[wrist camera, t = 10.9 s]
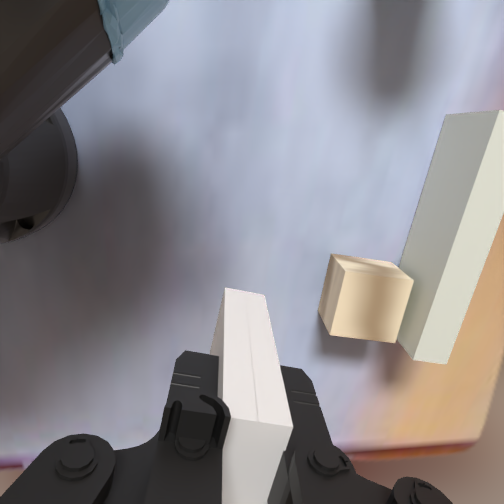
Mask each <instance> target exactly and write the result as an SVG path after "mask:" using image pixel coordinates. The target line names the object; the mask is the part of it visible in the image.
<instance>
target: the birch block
mask: <svg viewBox="0 0 504 504" xmlns="http://www.w3.org/2000/svg"><path fill="white" fill-rule="evenodd" d="M413 282H414V280H413V279H411V278H410V277H409V276H408V275H406V274H405V273H404V272H403V271H401V270H400V269H399V268H398V267H397V266H395V265H394V264H393V263H392V262H387V261H380V260H373V259H366V258H359V257H352V256H345V255H338V254H331V256H330V260H329V264H328V269H327V273H326V277H325V282H324V286H323V290H322V295H321V299H320V303H319V308H318V312H319V314H320V316H321V318H322V320H323V322H324V324H325V326H326V328H327V330H328V332H329V334H330V335H333V336H341V337H349V338H358V339H366V340H374V341H382V342H391V343H395V342H396V338H397V335H398V332H399V329H400V325H401V322H402V319H403V315H404V312H405V309H406V305H407V302H408V299H409V296H410V292H411V289H412V286H413Z"/></svg>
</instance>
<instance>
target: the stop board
mask: <svg viewBox="0 0 504 504" xmlns="http://www.w3.org/2000/svg"><path fill="white" fill-rule="evenodd" d="M503 213H504V111H502V110H494V111H482V112H470V113H458V114H446V116H445V119H444V122H443V126H442V129H441V132H440V135H439V139H438V142H437V145H436V148H435V151H434V155H433V158H432V161H431V164H430V168H429V171H428V174H427V177H426V181H425V184H424V187H423V190H422V193H421V197H420V200H419V203H418V206H417V210H416V213H415V216H414V219H413V222H412V226H411V229H410V232H409V235H408V239H407V242H406V245H405V248H404V251H403V255H402V258H401V261H400V264H399V269H400V270H401V271H403V272H404V273H405V274H406V275H408V276H409V277H410V278H411V279H413V280H414V282H413V286H412V289H411V292H410V296H409V299H408V302H407V305H406V309H405V312H404V315H403V319H402V322H401V325H400V329H399V332H398V335H397V338H396V339H397V340H398V342H399V343H400V344H401V345H402V347H403V348H404V349H405V350H406V352H407V353H408V354H409V355H410V357H411V358H412V359H413V360H417V361H425V362H432V363H439V364H447V362H448V359H449V356H450V354H451V351H452V348H453V346H454V343H455V340H456V338H457V335H458V332H459V330H460V327H461V325H462V322H463V319H464V317H465V314H466V311H467V309H468V306H469V303H470V301H471V298H472V295H473V293H474V290H475V287H476V285H477V282H478V279H479V277H480V274H481V272H482V269H483V266H484V264H485V261H486V258H487V256H488V253H489V250H490V248H491V245H492V242H493V240H494V237H495V234H496V232H497V229H498V226H499V224H500V221H501V218H502V216H503Z"/></svg>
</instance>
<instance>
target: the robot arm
mask: <svg viewBox="0 0 504 504" xmlns="http://www.w3.org/2000/svg"><path fill="white" fill-rule="evenodd" d="M168 2H169V0H0V244H1V243H6V242H10V241H14V240H17V239H20V238H22V237H25V236H27V235H29V234H31V233H33V232H35V231H37V230H39V229H41V228H42V227H44V226H46V225H47V224H48V223H50V222H51V221H52V220H53V219H54V218H55V217H56V216H57V215H58V214H59V213H60V212H61V211H62V209H63V208H64V207H65V205H66V203H67V202H68V200H69V198H70V196H71V193H72V191H73V188H74V184H75V180H76V173H77V153H76V146H75V142H74V138H73V134H72V131H71V128H70V126H69V124H68V121H67V119H66V117H65V115H64V113H63V112H62V110H61V108H60V107H61V106H62V105H64V104H65V103H66V102H67V101H68V100H69V99H70V98H71V97H73V96H74V95H75V94H76V93H77V92H78V91H79V90H81V89H82V88H83V87H84V86H85V85H86V84H87V83H89V82H90V81H91V80H92V79H93V78H94V77H95V76H97V75H98V74H99V73H100V72H101V71H102V70H103V69H104V68H106V67H107V66H108V65H109V64H110V63H111V62H112V63H113V64H114V65H115V64H116V63H117V62H119V61H120V60H121V59H122V57H123V50H124V49H125V48H126V47H127V46H128V45H129V44H130V43H131V42H132V41H133V40H134V39H135V38H136V37H137V36H138V35H139V34H140V33H141V32H142V31H143V30H144V29H145V28H146V27H147V26H148V25H149V24H150V23H151V22H152V21H153V20H154V19H155V18H156V17H157V16H158V15H159V14H160V13H161V12H162V11H163V10H164V9H165V7H166V6H167V4H168ZM0 504H452V502H451V501H450V500H449V499H448V498H447V497H446V496H445V495H444V494H443V493H442V492H441V491H440V490H438V489H437V488H435V487H434V486H432V485H431V484H429V483H428V482H425V481H423V480H420V479H418V478H413V477H403V478H401V479H398V480H397V482H396V483H395V485H394V487H393V489H392V490H391V489H389V488H387V487H384V486H382V485H379V484H377V483H375V482H372V481H370V480H367V479H365V478H363V477H361V476H360V475H358V474H356V472H355V469H354V467H353V465H352V463H351V461H350V460H349V458H348V457H347V456H346V455H345V454H344V453H343V452H342V451H341V450H340V449H339V448H337V447H336V446H334V445H333V444H332V441H331V438H330V435H329V432H328V429H327V426H326V423H325V420H324V417H323V414H322V411H321V407H319V401H318V398H317V396H316V392H315V389H314V386H313V383H312V381H311V379H310V378H309V377H308V376H307V375H306V374H305V372H304V371H303V370H302V369H298V368H293V367H287V366H281V365H280V364H279V359H278V355H277V350H276V345H275V341H274V336H273V332H272V327H271V322H270V318H269V313H268V308H267V304H266V299H265V295H262V294H256V293H251V292H246V291H241V290H236V289H231V288H226V287H225V289H224V294H223V298H222V302H221V306H220V311H219V315H218V319H217V324H216V328H215V332H214V337H213V341H212V345H211V349H210V355H209V354H203V353H197V352H191V351H185V352H183V353H182V354H181V355H180V356H179V357H178V358H177V359H176V362H175V367H174V371H173V376H172V380H171V385H170V389H169V394H168V398H167V403H166V405H165V407H164V412H163V417H162V422H161V427H160V430H159V431H158V432H157V434H156V435H155V436H154V437H153V438H152V439H150V440H149V441H148V442H146V443H144V444H142V445H139V446H137V447H132V448H128V449H122V450H113V448H112V447H111V446H110V444H109V443H108V442H107V441H105V440H104V439H102V438H100V437H98V436H95V435H89V434H77V435H69V436H67V437H64V438H62V439H59V440H57V441H55V442H53V443H52V444H51V445H50V446H48V447H47V448H46V449H44V450H43V451H42V452H41V453H40V454H39V456H38V457H37V458H36V459H35V460H34V461H33V462H32V463H31V464H30V465H29V466H28V468H27V469H26V470H25V471H24V472H23V473H22V474H21V475H20V476H19V477H18V479H16V481H15V482H14V483H13V484H12V485H11V486H10V487H9V488H8V489H7V490H6V492H5V493H4V494H3V495H2V496H1V497H0Z"/></svg>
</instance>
